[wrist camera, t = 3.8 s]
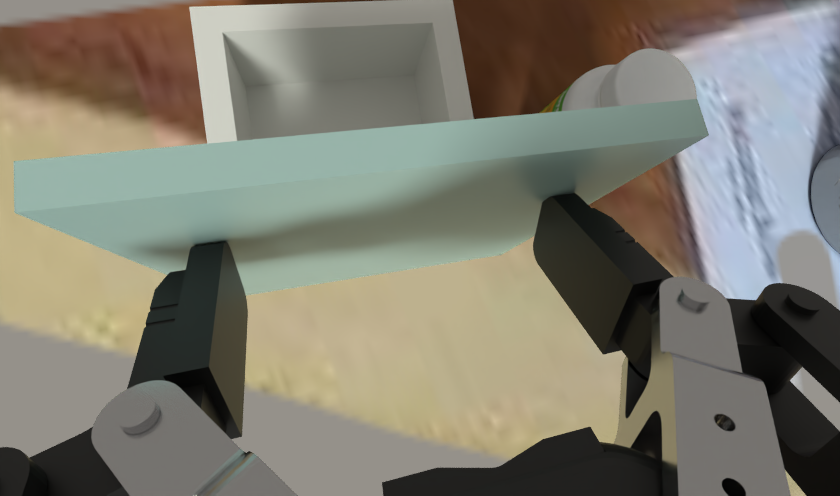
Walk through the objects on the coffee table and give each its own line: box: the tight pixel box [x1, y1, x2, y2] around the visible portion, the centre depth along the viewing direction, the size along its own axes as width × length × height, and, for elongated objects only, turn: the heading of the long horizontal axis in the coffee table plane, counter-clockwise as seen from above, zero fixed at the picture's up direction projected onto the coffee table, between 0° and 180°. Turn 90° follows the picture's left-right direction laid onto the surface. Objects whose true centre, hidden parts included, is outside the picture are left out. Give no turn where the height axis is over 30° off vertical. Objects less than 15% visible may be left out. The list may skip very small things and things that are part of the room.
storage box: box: [189, 0, 474, 144], centre depth 23 cm, size 12×12×6 cm
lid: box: [14, 99, 709, 295], centre depth 13 cm, size 12×12×1 cm
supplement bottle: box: [540, 48, 697, 113], centre depth 24 cm, size 5×5×10 cm
